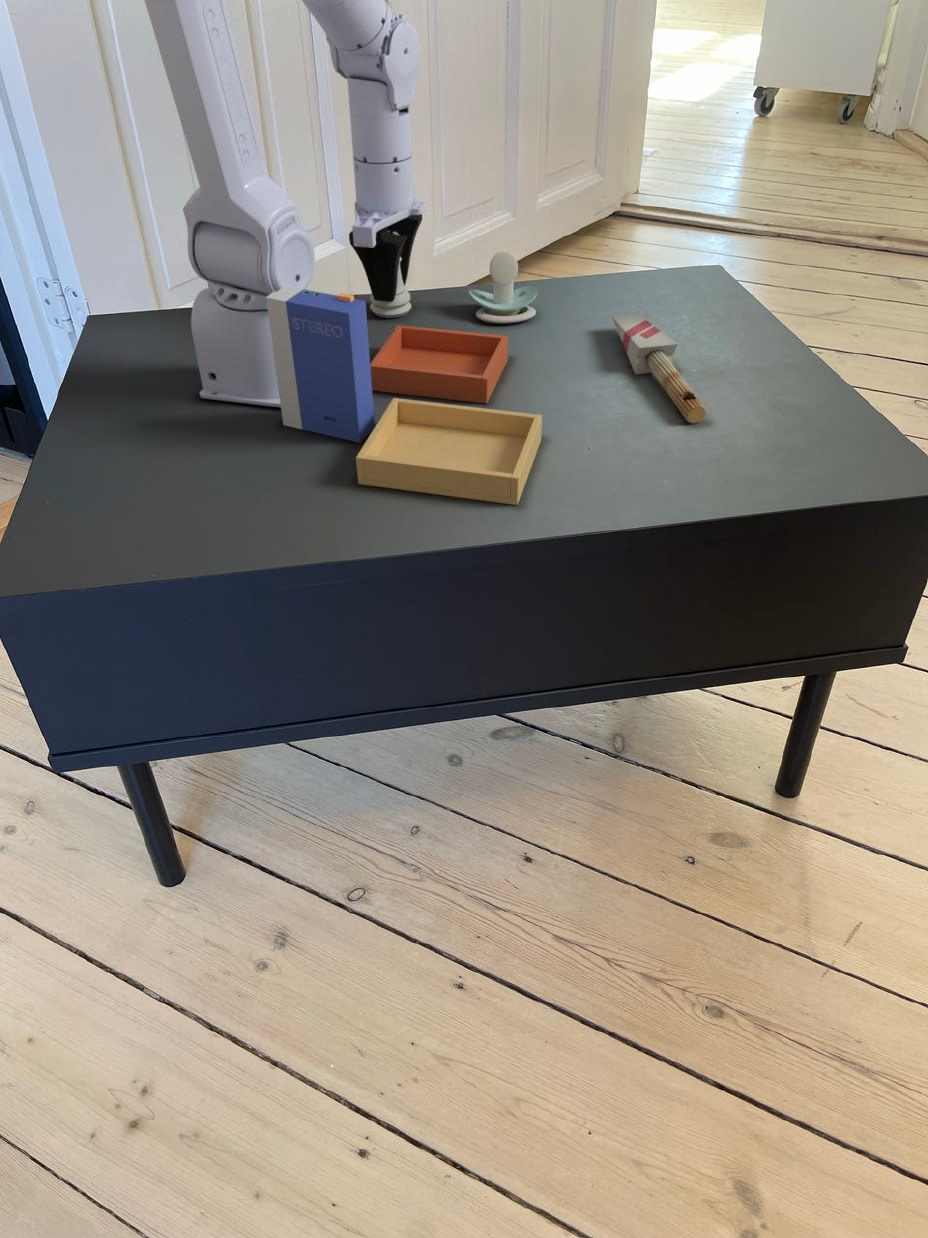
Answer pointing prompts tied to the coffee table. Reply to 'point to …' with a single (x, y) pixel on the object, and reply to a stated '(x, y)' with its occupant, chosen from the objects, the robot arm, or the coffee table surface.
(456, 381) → the terracotta tray
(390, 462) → the birch tray
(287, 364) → the walkman
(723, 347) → the coffee table surface
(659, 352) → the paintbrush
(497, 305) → the pacifier
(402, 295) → the rook chess piece
